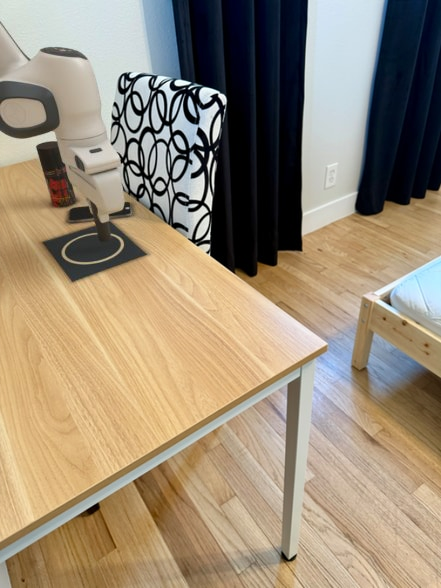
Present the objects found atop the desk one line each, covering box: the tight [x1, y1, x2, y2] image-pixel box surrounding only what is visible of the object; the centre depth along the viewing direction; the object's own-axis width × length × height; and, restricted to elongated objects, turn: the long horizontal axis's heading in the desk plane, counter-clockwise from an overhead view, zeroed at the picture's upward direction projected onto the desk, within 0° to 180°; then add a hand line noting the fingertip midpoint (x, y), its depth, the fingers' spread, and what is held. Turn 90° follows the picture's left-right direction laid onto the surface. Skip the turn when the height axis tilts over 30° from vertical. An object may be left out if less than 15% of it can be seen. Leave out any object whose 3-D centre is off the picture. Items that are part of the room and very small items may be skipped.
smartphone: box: [67, 201, 133, 224], centre depth 105 cm, size 8×1×15 cm
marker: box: [89, 199, 111, 242], centre depth 86 cm, size 3×3×13 cm
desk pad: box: [42, 220, 148, 283], centre depth 92 cm, size 16×19×1 cm
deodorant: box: [35, 140, 77, 209], centre depth 107 cm, size 6×6×15 cm
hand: (100, 217), depth 87 cm, fingers closed on marker, 2 cm apart
